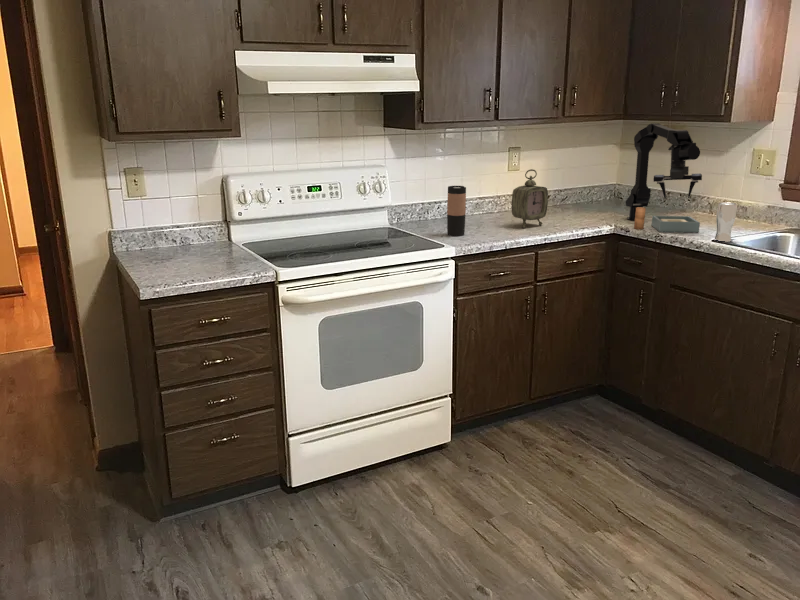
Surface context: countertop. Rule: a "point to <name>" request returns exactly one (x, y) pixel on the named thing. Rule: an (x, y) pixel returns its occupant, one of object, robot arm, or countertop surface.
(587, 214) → the countertop surface
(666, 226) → the open box
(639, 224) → the peg
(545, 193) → the tabletop clock
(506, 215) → the countertop surface
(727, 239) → the beer glass
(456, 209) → the travel mug
